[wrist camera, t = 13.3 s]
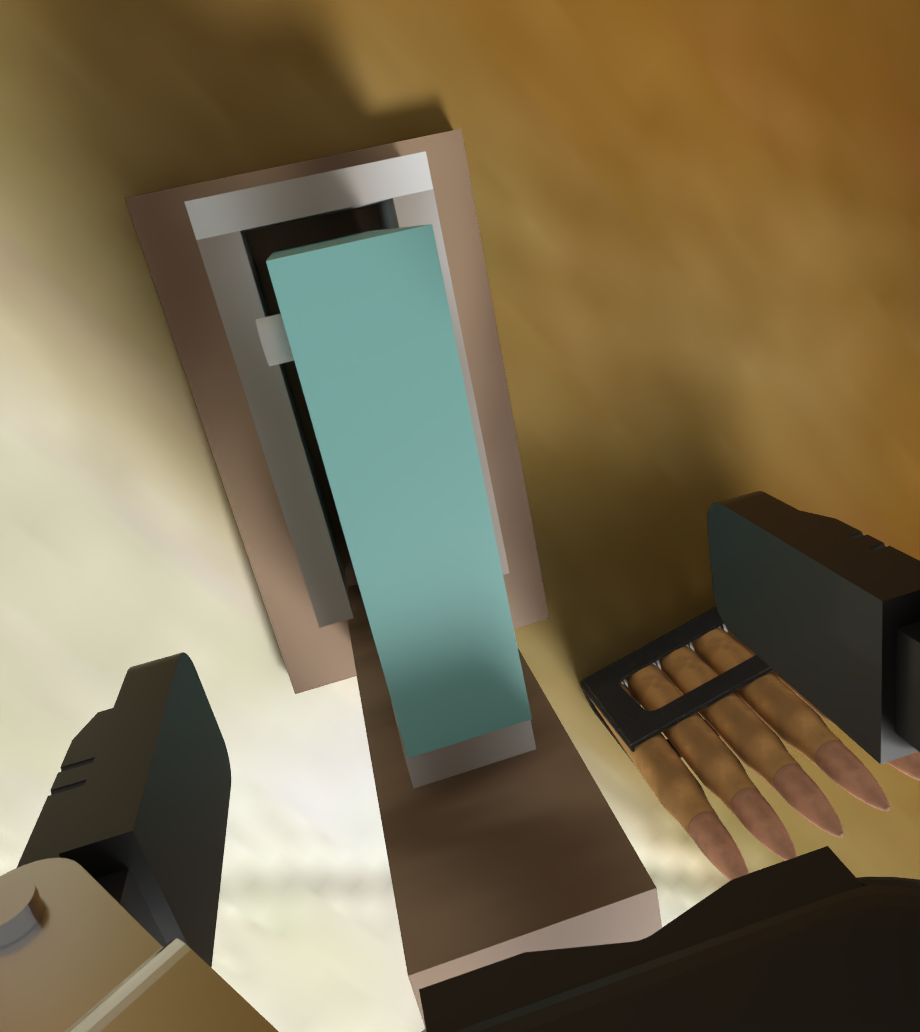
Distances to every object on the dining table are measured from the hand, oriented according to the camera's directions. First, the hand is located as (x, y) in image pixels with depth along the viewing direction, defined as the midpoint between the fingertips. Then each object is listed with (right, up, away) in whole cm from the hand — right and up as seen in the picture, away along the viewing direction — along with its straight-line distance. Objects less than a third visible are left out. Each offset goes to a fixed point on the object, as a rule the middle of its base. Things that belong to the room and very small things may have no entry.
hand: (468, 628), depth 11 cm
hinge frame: (-4, +5, +17) cm, 18 cm away
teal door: (-4, +6, +16) cm, 17 cm away
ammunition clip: (+10, -4, +24) cm, 27 cm away
